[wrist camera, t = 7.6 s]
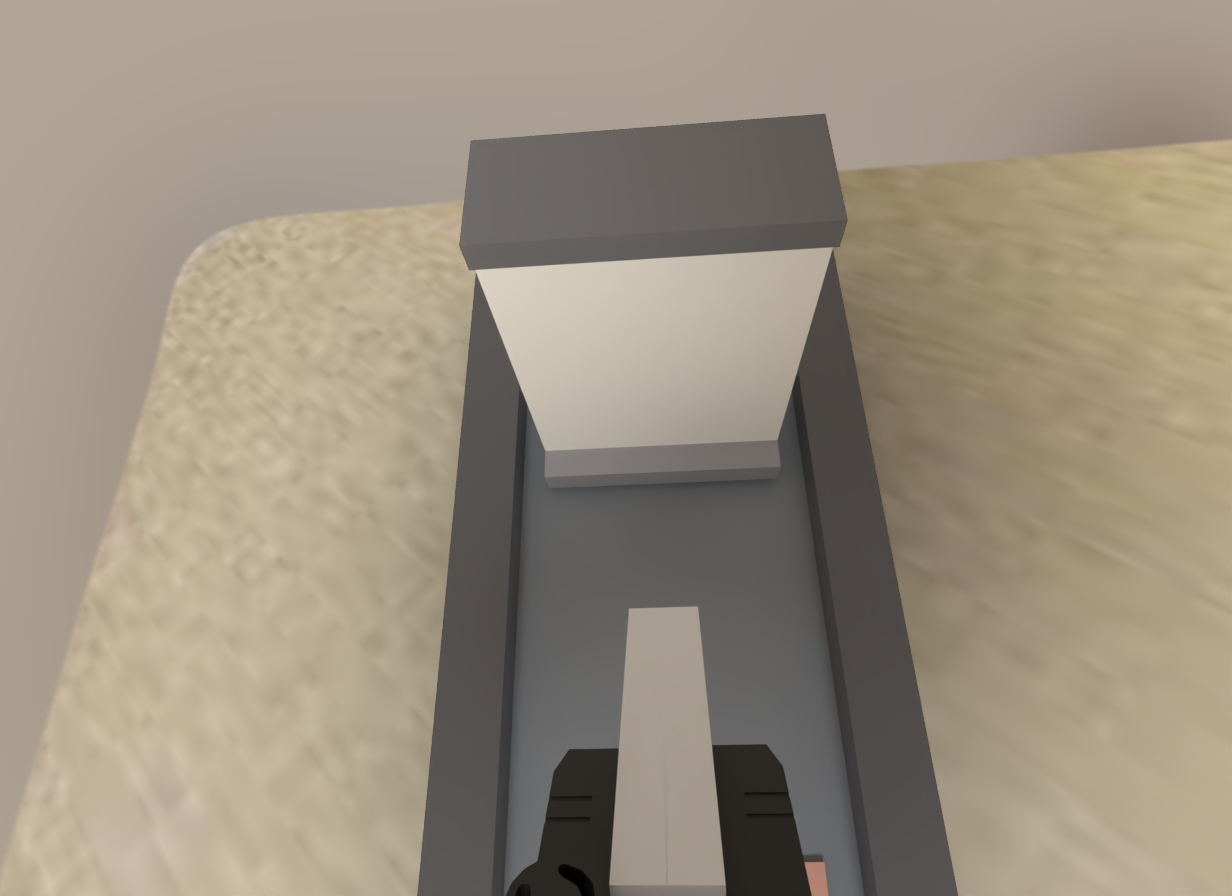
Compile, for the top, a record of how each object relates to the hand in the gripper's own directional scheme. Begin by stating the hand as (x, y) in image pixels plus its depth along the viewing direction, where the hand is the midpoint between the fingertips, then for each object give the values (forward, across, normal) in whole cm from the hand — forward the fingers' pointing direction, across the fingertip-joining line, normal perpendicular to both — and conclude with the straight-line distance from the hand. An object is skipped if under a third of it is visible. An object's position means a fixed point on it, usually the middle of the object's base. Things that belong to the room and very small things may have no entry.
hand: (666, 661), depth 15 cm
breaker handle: (+12, 0, +2) cm, 12 cm away
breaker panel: (+10, 0, -3) cm, 10 cm away
